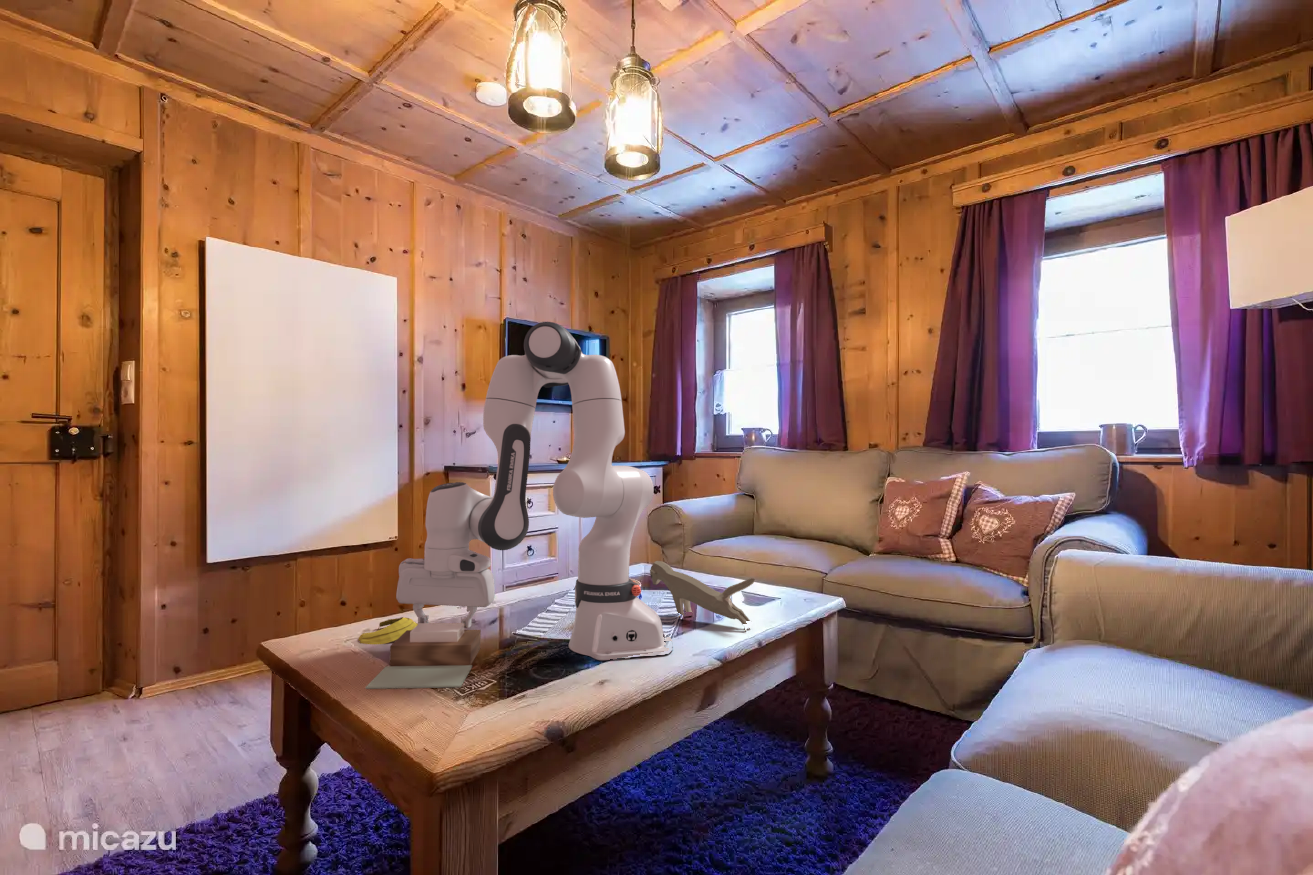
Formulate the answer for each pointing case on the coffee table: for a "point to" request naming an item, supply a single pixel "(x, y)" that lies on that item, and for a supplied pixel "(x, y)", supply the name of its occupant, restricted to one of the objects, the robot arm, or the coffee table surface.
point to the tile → (437, 632)
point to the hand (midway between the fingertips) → (444, 625)
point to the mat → (420, 677)
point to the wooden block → (435, 651)
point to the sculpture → (698, 592)
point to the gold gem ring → (388, 631)
